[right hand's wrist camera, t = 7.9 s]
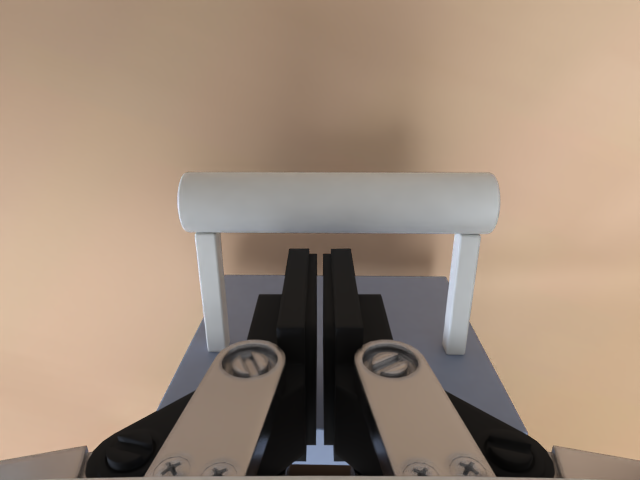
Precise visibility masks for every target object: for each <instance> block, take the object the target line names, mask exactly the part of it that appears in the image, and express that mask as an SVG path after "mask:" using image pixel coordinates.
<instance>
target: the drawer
mask: <svg viewBox="0 0 640 480" xmlns="http://www.w3.org/2000/svg"><path fill="white" fill-rule="evenodd" d="M177 204H178V214H179V218H180V222H181V225H182V227H183V229H184V230H185V231H187V232H196V234H195V242H196V251H197V260H198V269H199V278H200V286H201V295H202V304H203V313H204V318H203V320H202V322H201V324H200V326H199V328H198V330H197V332H196V334H195V335H194V337H193V339H192V341H191V343H190V345H189V347H188V349H187V351H186V353H185V355H184V357H183V359H182V361H181V363H180V365H179V367H178V369H177V371H176V373H175V375H174V377H173V379H172V381H171V383H170V385H169V387H168V389H167V391H166V393H165V395H164V397H163V399H162V401H161V403H160V405H159V407H158V409H157V411H158V410H160V409H161V408H163V407H165V406H167V405H169V404H171V403H173V402H174V401H176V400H178V399H180V398H182V397H184V396H186V395H187V394H189V393H191V392H193V391H195V390H196V389H197V387H198V386H199V384H200V382H201V381H202V379H203V377H204V376H205V374H206V372H207V371H208V369H209V367H210V366H211V364H212V362H213V361H214V359H215V357H216V356H217V355H218V354H219V353H220V351H221V350H223V349H224V348H226V347H227V346H229V345H231V344H234V343H237V342H240V341H245V340H247V337H248V333H249V330H250V326H251V322H252V318H253V314H254V311H255V307H256V303H257V299H258V296H259V294H282V290H283V284H284V278H285V275H225V276H224V270H223V259H222V248H221V237H220V232H224V233H397V234H455V236H454V244H453V253H452V262H451V271H450V280H449V282H448V280H447V278H446V277H425V276H355V278H356V284H357V290H358V294H381V296H382V299H383V303H384V307H385V311H386V314H387V318H388V322H389V326H390V330H391V333H392V337H393V340H395V341H400V342H403V343H406V344H409V345H411V346H413V347H414V348H416V349H417V350H419V351H420V353H421V354H422V355H423V356H424V357H425V359H426V361H427V362H428V364H429V366H430V367H431V369H432V371H433V372H434V374H435V376H436V377H437V379H438V381H439V382H440V384H441V386H442V387H443V389H444V390H445V391H447V392H449V393H451V394H453V395H454V396H456V397H458V398H460V399H462V400H464V401H466V402H467V403H469V404H471V405H473V406H475V407H477V408H479V409H480V410H482V411H484V412H486V413H488V414H490V415H492V416H493V417H495V418H497V419H499V420H501V421H503V422H505V423H506V424H508V425H510V426H512V427H514V428H516V429H518V430H519V431H521V432H523V433H525V434H527V435H528V432H527V430H526V428H525V426H524V424H523V423H522V421H521V419H520V417H519V415H518V413H517V411H516V409H515V407H514V405H513V404H512V402H511V400H510V398H509V396H508V394H507V392H506V390H505V388H504V386H503V385H502V383H501V381H500V379H499V377H498V375H497V373H496V371H495V369H494V367H493V366H492V364H491V362H490V360H489V358H488V356H487V354H486V352H485V350H484V349H483V347H482V345H481V343H480V341H479V339H478V337H477V335H476V333H475V331H474V330H473V328H472V326H471V324H470V322H469V320H470V313H471V305H472V298H473V291H474V284H475V276H476V269H477V262H478V254H479V247H480V240H481V236H480V235H479V234H489V233H491V232H492V231H493V230H494V228H495V226H496V224H497V221H498V217H499V211H500V191H499V185H498V182H497V179H496V177H495V176H494V175H493V174H491V173H447V172H186V173H184V174H183V175H182V177H181V180H180V183H179V188H178V197H177ZM289 476H351V466H350V465H349V464H348V463H346V462H334V455H333V445H324V406H323V276H317V406H316V445H307V455H306V462H294V463H292V464H291V465H290V466H289Z"/></svg>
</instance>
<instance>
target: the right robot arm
mask: <svg viewBox="0 0 640 480" xmlns="http://www.w3.org/2000/svg"><path fill="white" fill-rule="evenodd" d="M316 406H317V254H309V249H289V254H288V260H287V266H286V272H285V278H284V284H283V290H282V294H259V296H258V299H257V303H256V307H255V311H254V314H253V318H252V322H251V326H250V330H249V333H248V337H247V340H245V341H240V342H237V343H234V344H231V345H229V346H227V347H226V348H224V349H223V350H221V351H220V353H219V354H218V355H217V356H216V357H215V359H214V361H213V362H212V364H211V366H210V367H209V369H208V371H207V372H206V374H205V376H204V377H203V379H202V381H201V382H200V384H199V386H198V387H197V389H196V390H195V391H193V392H191V393H189V394H187V395H186V396H184V397H182V398H180V399H178V400H176V401H174V402H173V403H171V404H169V405H167V406H165V407H163V408H161V409H160V410H158V411H156V412H154V413H152V414H150V415H148V416H147V417H145V418H143V419H141V420H139V421H137V422H135V423H134V424H132V425H130V426H128V427H126V428H124V429H122V430H121V431H119V432H117V433H115V434H113V435H112V436H110V437H109V438H107V439H106V440H104V441H103V442H102V443H101V444H100V445H99V446H98V447H97V448H96V449H95V450H94V451H93V452H89V453H88V449H87V446H81V447H76V448H70V449H64V450H59V451H53V452H47V453H41V454H36V455H30V456H24V457H19V458H13V459H7V460H2V461H0V480H640V461H638V460H633V459H627V458H621V457H616V456H610V455H604V454H599V453H593V452H587V451H581V450H576V449H570V448H564V447H559V446H553V449H552V453H551V452H547V451H546V450H545V449H544V448H543V447H542V446H541V445H540V444H539V443H538V442H537V441H536V440H534V439H533V438H531V437H530V436H528V435H527V434H525V433H523V432H521V431H519V430H518V429H516V428H514V427H512V426H510V425H508V424H506V423H505V422H503V421H501V420H499V419H497V418H495V417H493V416H492V415H490V414H488V413H486V412H484V411H482V410H480V409H479V408H477V407H475V406H473V405H471V404H469V403H467V402H466V401H464V400H462V399H460V398H458V397H456V396H454V395H453V394H451V393H449V392H447V391H445V390H444V389H443V387H442V386H441V384H440V382H439V381H438V379H437V377H436V376H435V374H434V372H433V371H432V369H431V367H430V366H429V364H428V362H427V361H426V359H425V357H424V356H423V355H422V354H421V353H420V351H419V350H417V349H416V348H414V347H413V346H411V345H409V344H406V343H403V342H400V341H395V340H393V337H392V333H391V330H390V326H389V322H388V318H387V314H386V311H385V307H384V303H383V299H382V296H381V294H358V290H357V284H356V278H355V272H354V266H353V260H352V254H351V249H331V254H323V406H324V445H333V455H334V462H346V463H348V464H349V465H350V466H351V476H289V466H290V465H291V464H292V463H294V462H306V455H307V445H316Z"/></svg>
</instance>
